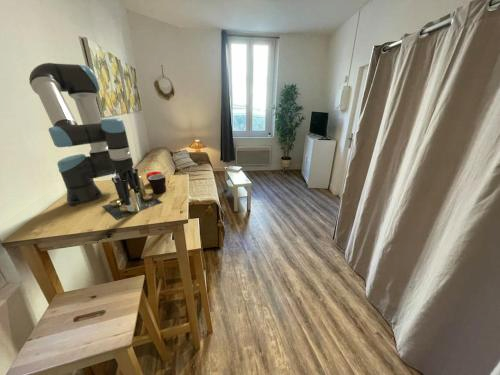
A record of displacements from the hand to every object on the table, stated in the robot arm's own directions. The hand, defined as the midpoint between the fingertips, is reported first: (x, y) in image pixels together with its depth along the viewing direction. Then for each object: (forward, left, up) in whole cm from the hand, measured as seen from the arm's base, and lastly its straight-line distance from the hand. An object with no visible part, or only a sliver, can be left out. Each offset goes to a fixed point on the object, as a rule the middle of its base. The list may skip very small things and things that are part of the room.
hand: (134, 208), depth 95 cm
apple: (-27, +24, -3) cm, 37 cm away
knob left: (-11, +10, -2) cm, 15 cm away
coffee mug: (-13, +20, -3) cm, 24 cm away
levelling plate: (-9, +2, -3) cm, 10 cm away
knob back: (-16, -1, -2) cm, 16 cm away
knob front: (-3, -1, -2) cm, 3 cm away
